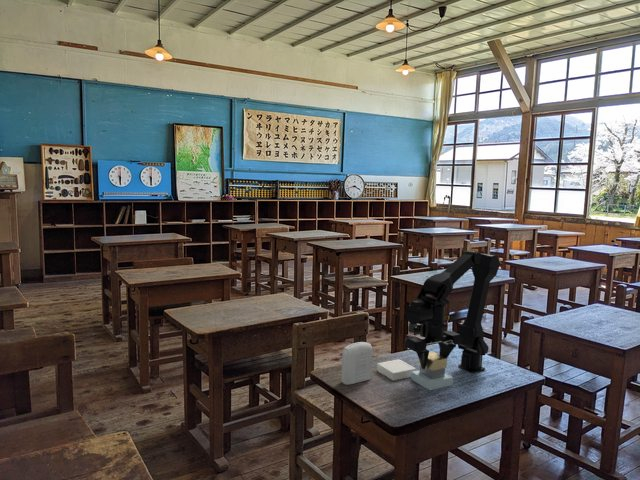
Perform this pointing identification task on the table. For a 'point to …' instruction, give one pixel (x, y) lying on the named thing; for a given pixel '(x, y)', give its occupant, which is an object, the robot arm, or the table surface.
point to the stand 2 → (431, 380)
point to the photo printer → (356, 363)
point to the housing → (434, 366)
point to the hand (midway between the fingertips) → (432, 367)
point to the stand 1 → (395, 369)
